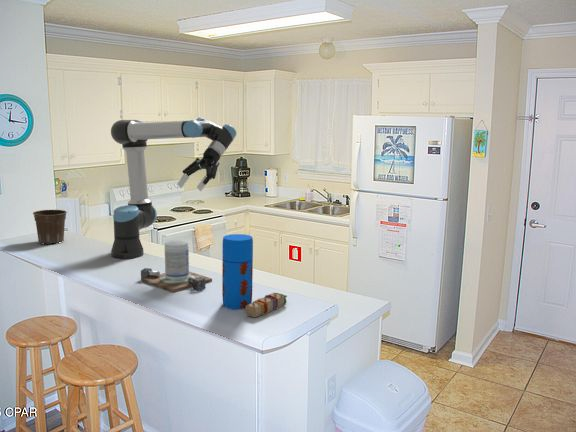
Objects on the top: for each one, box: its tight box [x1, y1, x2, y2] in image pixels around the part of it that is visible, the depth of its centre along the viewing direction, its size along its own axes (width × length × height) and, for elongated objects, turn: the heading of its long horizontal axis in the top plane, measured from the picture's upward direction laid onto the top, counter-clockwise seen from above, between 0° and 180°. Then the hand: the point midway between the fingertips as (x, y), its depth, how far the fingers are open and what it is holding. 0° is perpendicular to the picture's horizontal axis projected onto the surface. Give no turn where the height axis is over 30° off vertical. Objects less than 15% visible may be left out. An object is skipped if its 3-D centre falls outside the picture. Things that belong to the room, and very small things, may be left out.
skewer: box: [244, 292, 288, 318], centre depth 185 cm, size 21×6×5 cm, turn 144°
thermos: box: [221, 233, 254, 310], centre depth 187 cm, size 11×11×25 cm
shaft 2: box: [188, 277, 206, 291], centre depth 206 cm, size 7×4×4 cm, turn 50°
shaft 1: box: [140, 267, 161, 281], centre depth 215 cm, size 7×4×4 cm, turn 80°
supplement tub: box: [164, 240, 190, 280], centre depth 212 cm, size 10×10×15 cm
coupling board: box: [141, 271, 213, 293], centre depth 214 cm, size 20×20×2 cm
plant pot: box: [32, 209, 68, 245], centre depth 273 cm, size 16×16×16 cm
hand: (188, 187), depth 232 cm, fingers open, 13 cm apart
